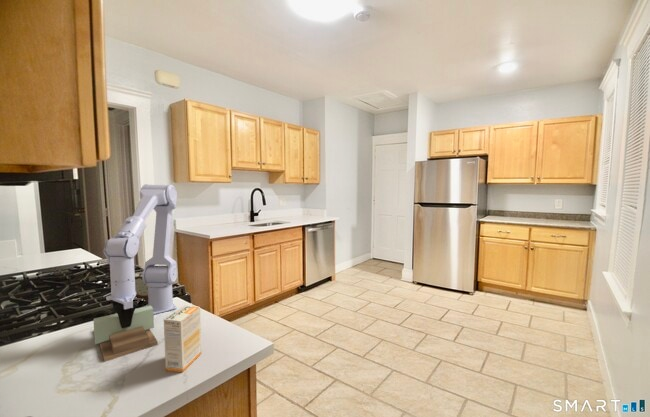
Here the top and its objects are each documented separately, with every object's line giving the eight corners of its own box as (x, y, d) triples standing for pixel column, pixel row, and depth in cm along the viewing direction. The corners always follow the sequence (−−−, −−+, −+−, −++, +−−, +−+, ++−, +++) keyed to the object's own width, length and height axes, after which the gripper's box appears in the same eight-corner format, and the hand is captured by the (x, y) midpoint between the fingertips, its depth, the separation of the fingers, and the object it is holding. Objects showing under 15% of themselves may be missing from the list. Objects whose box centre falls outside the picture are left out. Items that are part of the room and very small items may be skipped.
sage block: (151, 324, 92) (150, 305, 91) (153, 327, 90) (153, 308, 89) (94, 339, 82) (93, 318, 82) (95, 344, 80) (94, 322, 80)
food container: (169, 296, 117) (168, 271, 116) (159, 302, 111) (158, 276, 110) (140, 294, 118) (139, 270, 118) (128, 300, 112) (127, 274, 111)
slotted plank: (95, 331, 89) (95, 321, 89) (141, 319, 98) (141, 310, 97) (104, 361, 75) (103, 350, 74) (157, 344, 83) (157, 334, 83)
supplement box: (185, 351, 80) (184, 304, 79) (202, 353, 79) (201, 306, 78) (164, 370, 72) (162, 318, 70) (182, 373, 71) (181, 320, 70)
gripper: (102, 275, 87) (104, 320, 88) (109, 289, 77) (111, 339, 78) (130, 270, 92) (132, 313, 93) (140, 283, 81) (142, 330, 83)
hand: (125, 324), depth 86 cm, fingers closed on sage block, 3 cm apart
